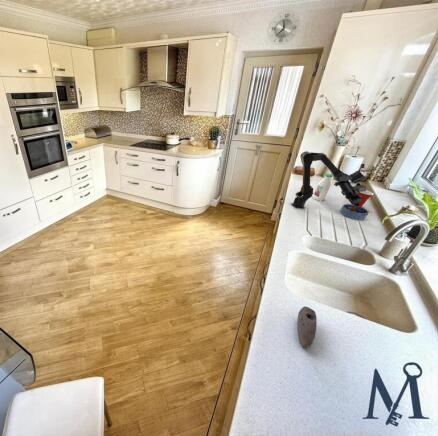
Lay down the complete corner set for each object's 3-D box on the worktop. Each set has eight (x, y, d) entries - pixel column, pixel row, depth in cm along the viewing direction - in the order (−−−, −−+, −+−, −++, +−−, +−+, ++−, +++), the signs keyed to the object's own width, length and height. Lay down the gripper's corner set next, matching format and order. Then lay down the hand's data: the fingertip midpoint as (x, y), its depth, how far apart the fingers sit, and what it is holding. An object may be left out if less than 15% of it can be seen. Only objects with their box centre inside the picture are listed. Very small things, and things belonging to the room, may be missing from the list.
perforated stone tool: (310, 356, 74) (319, 344, 71) (292, 347, 76) (300, 334, 73) (311, 322, 85) (319, 309, 82) (295, 315, 88) (302, 302, 84)
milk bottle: (323, 197, 185) (334, 173, 174) (324, 201, 178) (336, 176, 168) (311, 195, 187) (322, 172, 177) (313, 199, 181) (324, 174, 171)
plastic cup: (369, 209, 169) (378, 194, 163) (352, 207, 171) (360, 192, 165) (360, 203, 178) (368, 188, 172) (345, 201, 180) (352, 187, 174)
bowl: (349, 220, 154) (353, 213, 152) (334, 210, 167) (337, 203, 164) (370, 220, 155) (374, 214, 152) (354, 210, 167) (357, 204, 164)
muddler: (355, 215, 159) (365, 197, 153) (348, 214, 160) (358, 197, 153) (352, 212, 163) (361, 195, 156) (345, 211, 164) (354, 194, 157)
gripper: (367, 185, 143) (379, 204, 146) (354, 176, 158) (365, 193, 161) (346, 195, 149) (357, 213, 152) (336, 184, 164) (346, 201, 167)
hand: (357, 205), depth 158 cm, fingers closed on muddler, 2 cm apart
